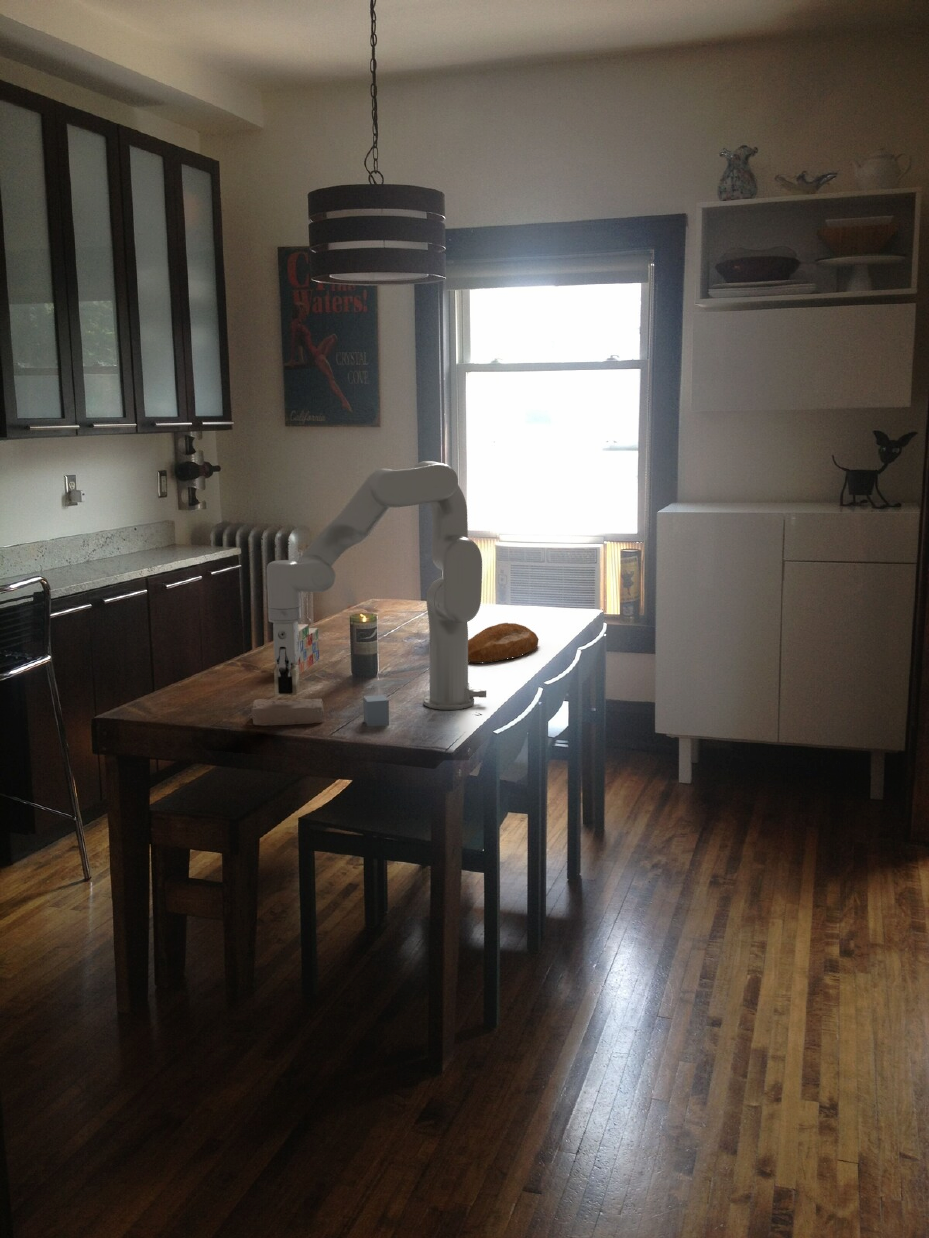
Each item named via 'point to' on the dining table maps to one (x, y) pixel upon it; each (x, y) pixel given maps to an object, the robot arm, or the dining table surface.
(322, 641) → the dining table surface
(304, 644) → the stack of blocks
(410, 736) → the dining table surface
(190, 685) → the dining table surface
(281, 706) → the brick
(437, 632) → the robot arm
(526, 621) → the dining table surface
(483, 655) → the bread
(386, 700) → the slate block
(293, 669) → the beech block
